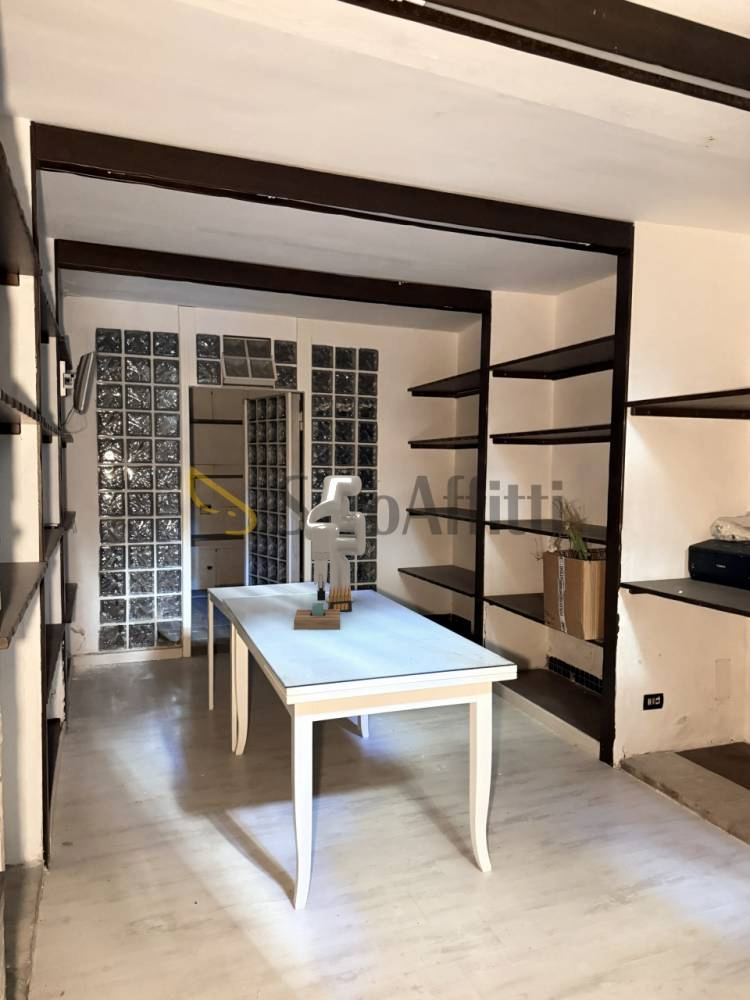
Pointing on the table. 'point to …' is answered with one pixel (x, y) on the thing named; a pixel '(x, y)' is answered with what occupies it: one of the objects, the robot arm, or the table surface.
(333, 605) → the ammunition clip
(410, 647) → the table surface
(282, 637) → the table surface
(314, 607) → the peg
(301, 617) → the socket block
